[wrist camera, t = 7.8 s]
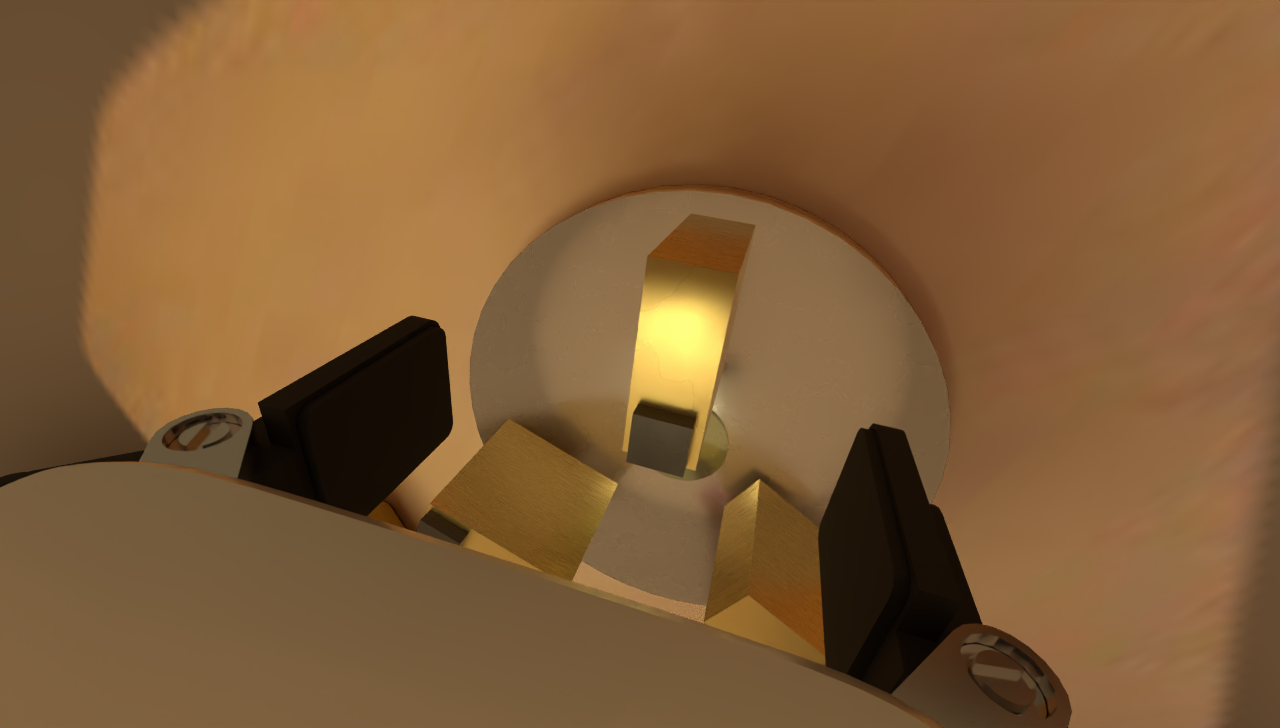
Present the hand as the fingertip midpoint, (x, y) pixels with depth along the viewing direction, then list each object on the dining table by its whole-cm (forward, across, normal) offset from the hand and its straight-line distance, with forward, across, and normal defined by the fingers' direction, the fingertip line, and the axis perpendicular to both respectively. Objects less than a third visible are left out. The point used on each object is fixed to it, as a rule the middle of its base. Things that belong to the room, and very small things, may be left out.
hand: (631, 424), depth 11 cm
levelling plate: (+12, 0, +8) cm, 14 cm away
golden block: (+10, -6, +11) cm, 16 cm away
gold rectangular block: (+10, +6, +11) cm, 16 cm away
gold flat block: (+10, 0, +1) cm, 10 cm away
